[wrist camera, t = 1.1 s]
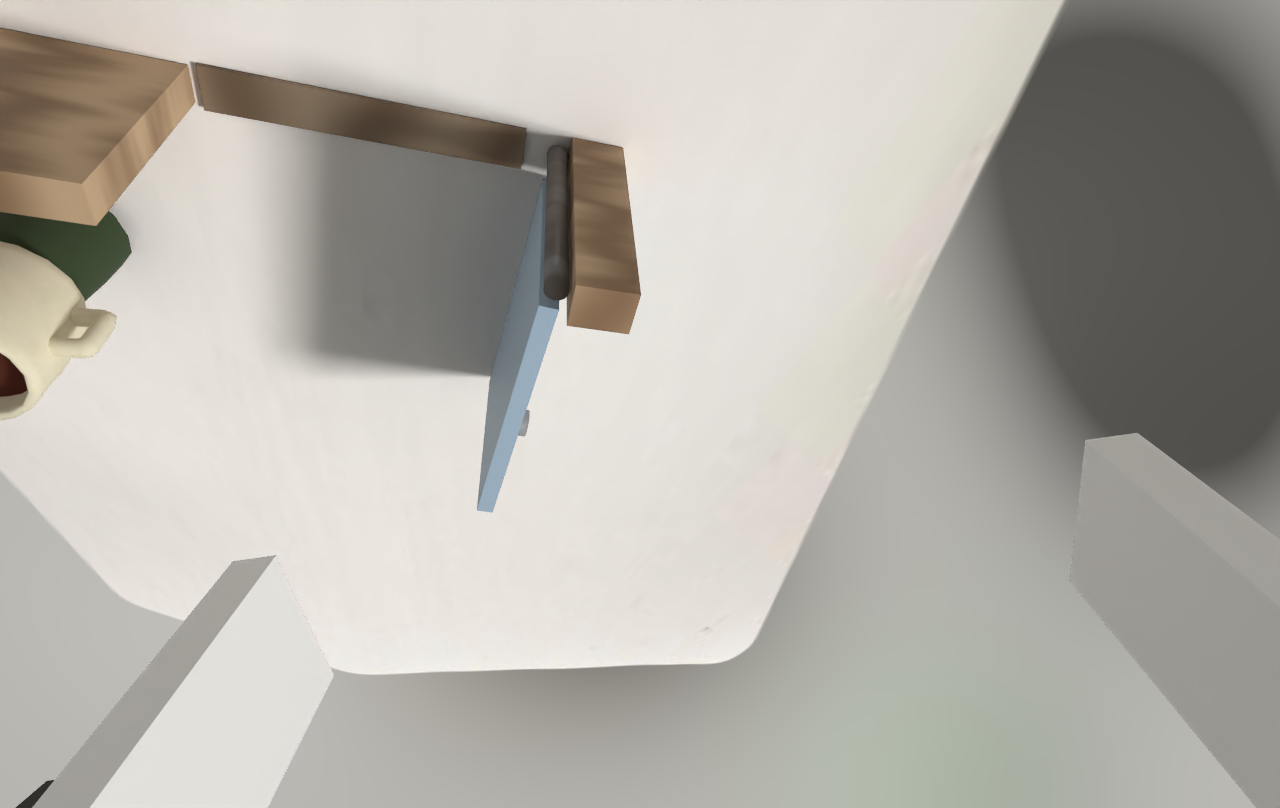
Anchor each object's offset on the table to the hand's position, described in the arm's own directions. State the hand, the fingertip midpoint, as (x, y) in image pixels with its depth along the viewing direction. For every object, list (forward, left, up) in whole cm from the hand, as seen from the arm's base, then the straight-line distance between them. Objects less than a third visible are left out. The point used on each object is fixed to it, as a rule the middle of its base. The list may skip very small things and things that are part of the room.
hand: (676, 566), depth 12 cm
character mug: (-22, -27, -34) cm, 49 cm away
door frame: (-10, -14, -34) cm, 38 cm away
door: (+5, -20, -33) cm, 39 cm away
